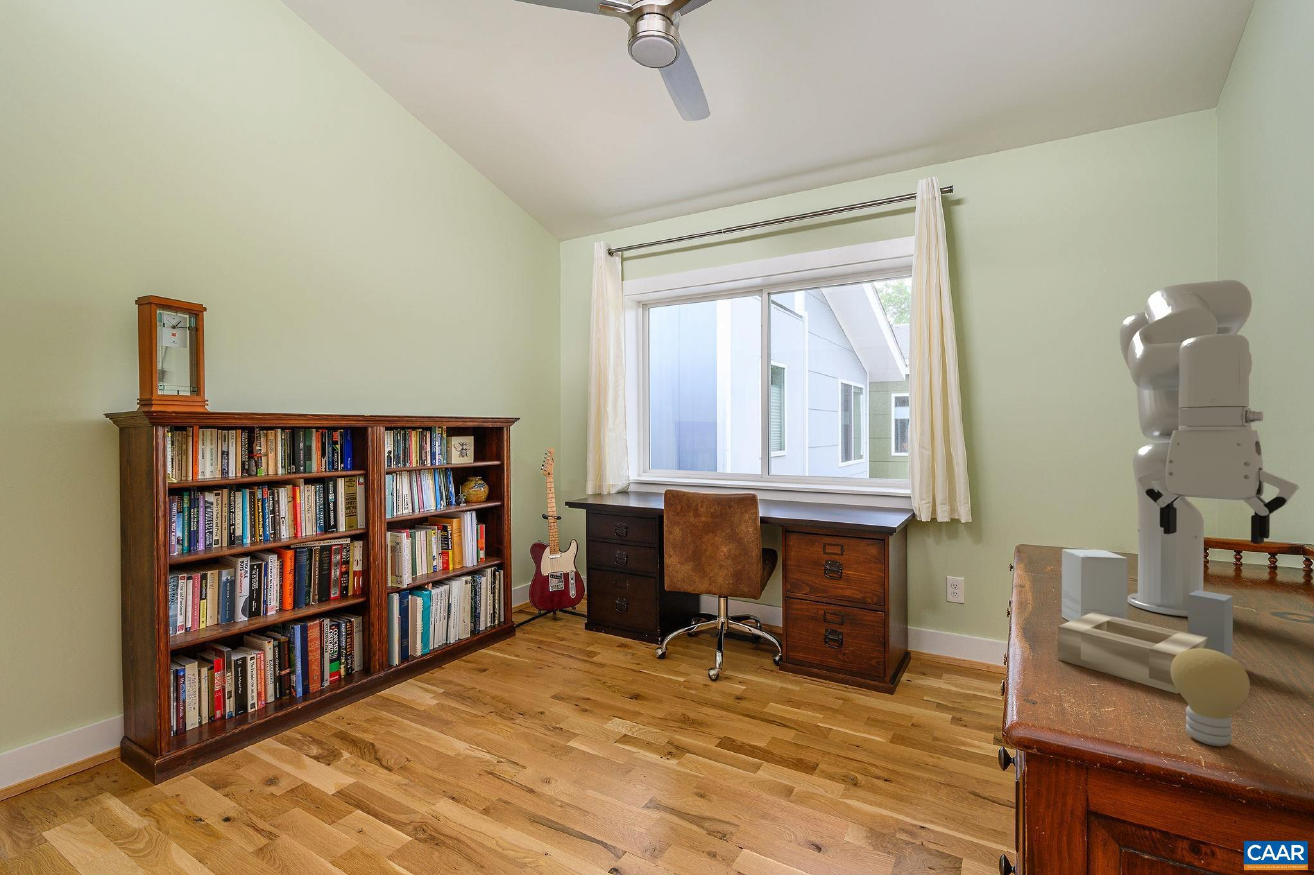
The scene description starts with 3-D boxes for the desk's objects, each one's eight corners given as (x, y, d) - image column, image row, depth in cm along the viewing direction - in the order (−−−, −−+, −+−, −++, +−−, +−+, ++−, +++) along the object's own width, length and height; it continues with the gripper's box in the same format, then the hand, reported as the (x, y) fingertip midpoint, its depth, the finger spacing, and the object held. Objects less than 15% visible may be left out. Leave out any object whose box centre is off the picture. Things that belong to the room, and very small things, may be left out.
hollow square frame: (1092, 643, 96) (1092, 612, 96) (1207, 672, 85) (1208, 637, 85) (1057, 659, 90) (1057, 626, 90) (1177, 693, 78) (1177, 655, 78)
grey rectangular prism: (1196, 655, 91) (1197, 590, 91) (1232, 664, 88) (1233, 596, 88) (1187, 661, 89) (1188, 594, 89) (1223, 670, 85) (1224, 600, 85)
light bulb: (1155, 727, 69) (1155, 641, 69) (1206, 725, 70) (1207, 639, 70) (1210, 757, 63) (1211, 662, 63) (1266, 754, 63) (1267, 660, 63)
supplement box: (1129, 632, 101) (1129, 558, 101) (1079, 630, 103) (1080, 556, 103) (1105, 619, 109) (1106, 549, 108) (1060, 616, 110) (1060, 547, 110)
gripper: (1304, 420, 83) (1303, 544, 83) (1149, 422, 97) (1148, 528, 97) (1291, 418, 78) (1290, 550, 78) (1130, 421, 93) (1129, 532, 93)
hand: (1211, 538), depth 88 cm, fingers open, 9 cm apart
